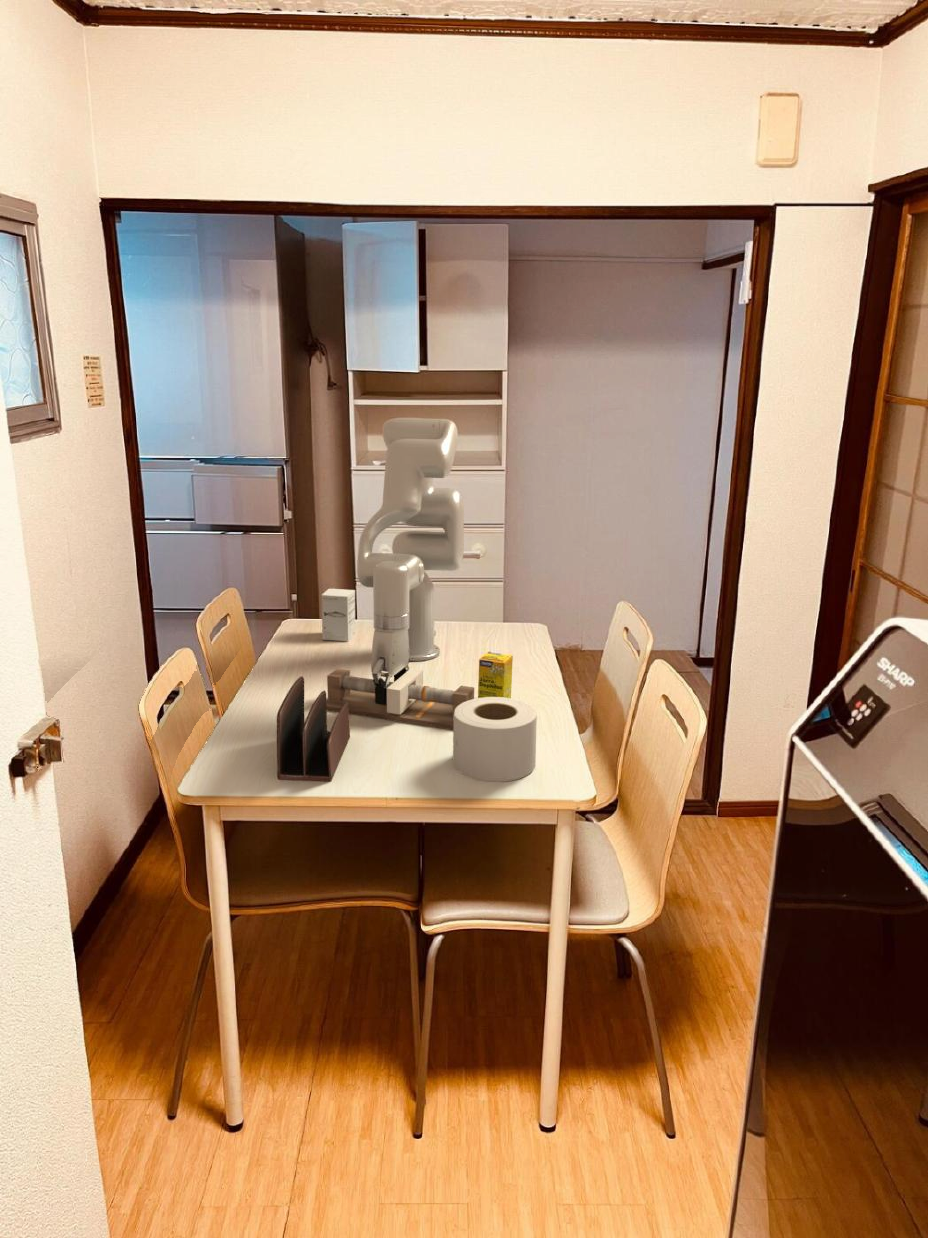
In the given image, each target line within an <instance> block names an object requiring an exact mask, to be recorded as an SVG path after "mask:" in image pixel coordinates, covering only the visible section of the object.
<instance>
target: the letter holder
mask: <svg viewBox="0 0 928 1238" xmlns="http://www.w3.org/2000/svg"><path fill="white" fill-rule="evenodd" d="M326 700H327V692H326V690H323V691H321V692H320V694H318V695H317V697H316V699H315V700H314V701H313V703H312V705H311V707H310V709H309V712H308V713H307V715H306V718H305V677H304V676H299V677H298V678H297V679H296V680H295V682H294V683H293V684H292V685H291V687H290V688H289V690H288V691H287V693H286V695H285V697H284V699H283V701H282V702H281V705H280V706H279V708H278V711H277V714H276V763H277V764H276V768H277V771H276V773H277V774H276V775H277V780H281V781H300V780H301V781H303V782H304V781H307V782H326V783H327V782H332V780H333V778H334V776H335V774H336V771H337V769H338V766H339V764H340V762H341V760H342V757H343V755H344V752H345V750H346V748H347V745H348V743H349V740H350V738H351V735H350V734H351V731H350V729H351V728H350V714H349V709H348V703H344V705H343V706H342V707H341V709H340V711H339V712H337V715H336V717H335V719H334V721H333V724H332V726H331V729H330V731H328V721H327V720H328V717H327V716H328V715H327V711H328V710H326Z"/></svg>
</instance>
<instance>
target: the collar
mask: <svg viewBox="0 0 928 1238" xmlns="http://www.w3.org/2000/svg"><path fill="white" fill-rule="evenodd" d="M393 682H394V681H393ZM409 685H417V686H424V670H423V669H415V668H409V670H408V671H407V672H406V673H405V674H404V675H402V676H401V677H400V678H399V679H397V680H396V681H395V682H394V683H393V684H391V685H390V686H389V687H388V688H387V713H393V714H399V715H400V714H401V713H402V712H404V711H405V710H406V709H407V708H408V707H409V706H410V705H411V704H412V703H413V702H414V701H415V699H408V686H409Z"/></svg>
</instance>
